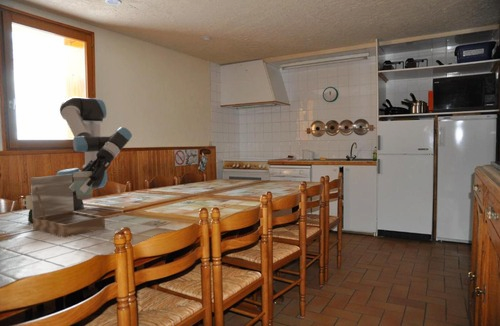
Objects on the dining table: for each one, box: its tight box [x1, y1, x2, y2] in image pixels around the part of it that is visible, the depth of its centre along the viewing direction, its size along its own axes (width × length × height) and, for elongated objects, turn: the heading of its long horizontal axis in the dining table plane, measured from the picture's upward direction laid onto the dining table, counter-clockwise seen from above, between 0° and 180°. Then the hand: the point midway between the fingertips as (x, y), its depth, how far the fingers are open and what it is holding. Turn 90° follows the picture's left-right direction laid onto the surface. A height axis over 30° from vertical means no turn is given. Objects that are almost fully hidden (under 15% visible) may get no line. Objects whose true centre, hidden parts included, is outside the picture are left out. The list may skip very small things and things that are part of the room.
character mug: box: [22, 194, 33, 223], centre depth 165 cm, size 11×7×13 cm, turn 100°
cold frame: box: [29, 174, 106, 238], centre depth 150 cm, size 26×18×23 cm
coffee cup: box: [73, 171, 93, 200], centre depth 153 cm, size 8×9×12 cm
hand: (76, 190), depth 151 cm, fingers closed on coffee cup, 8 cm apart
